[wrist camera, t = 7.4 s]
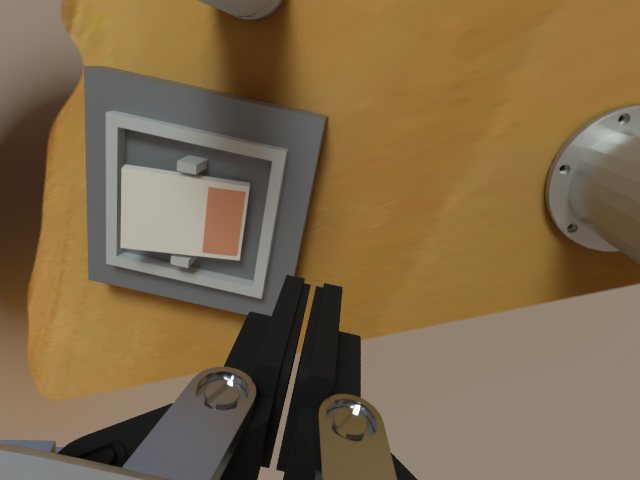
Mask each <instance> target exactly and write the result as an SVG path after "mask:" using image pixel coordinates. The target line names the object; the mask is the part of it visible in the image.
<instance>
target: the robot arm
mask: <svg viewBox="0 0 640 480" xmlns="http://www.w3.org/2000/svg"><path fill="white" fill-rule="evenodd" d="M620 116H621V119H620V120H619V117H620ZM618 120H619V121H618ZM562 165H563V168H562V169H561V170H560V167H561V166H562ZM545 198H546V204H547V209H548V212H549V214H550V217H551V219H552V221H553V222H554V223H555V225H556V226H557V228H558V229H559V230H560V231H561V232H562V233H563V234H565V235H566V236H567V237H568V238H570V239H571V240H572V241H574V242H575V243H577V244H579V245H581V246H584V247H586V248H588V249H593V250H597V251H605V252H619V251H621V252H622V253H624V254H625V255H626V256H628V257H629V258H631V259H632V260H634V261H635V262H637V263H638V264H639V265H640V104H637V105H631V106H625V107H620V108H617V109H614V110H611V111H608V112H606V113H604V114H602V115H600V116H598V117H596V118H594V119H592V120H590V121H589V122H588V123H586V124H585V125H584V126H582V127H581V128H580V129H578V130H577V131H576V132H575V133H574V134H573V135H572V136H571V137H570V138H569V139H568V140H567V141H566V142H565V143H564V145H563V146H562V148H561V149H560V151H559V152H558V153H557V155H556V157H555V159H554V161H553V163H552V165H551V167H550V170H549V173H548V177H547V181H546V190H545ZM569 225H570V226H569ZM568 226H569V227H568ZM304 280H305V279H304V278H300V277H295V276H291V275H286V278H285V281H284V283H283V286H282V289H281V291H280V294H279V297H278V300H277V302H276V305H275V308H274V310H273V313H272V316H269V315H265V314H260V313H256V312H251V311H250V312H249V314H248V316H247V318H246V320H245V322H244V324H243V326H242V329H241V331H240V333H239V335H238V337H237V339H236V341H235V343H234V346H233V348H232V350H231V352H230V354H229V356H228V358H227V361H226V363H225V365H224V367H215V368H210V369H207V370H205V371H203V372H201V373H199V374H198V375H197V376H196V377H194V378H193V379H192V381H191V382H190V383H189V384H188V386H187V387H186V388H185V389H184V391H183V392H182V394H180V396H179V397H178V398H177V399H176V401H175V402H174V403H172V404H169V405H166V406H164V407H161V408H158V409H156V410H153V411H150V412H147V413H145V414H142V415H139V416H137V417H134V418H131V419H129V420H126V421H124V422H121V423H118V424H115V425H113V426H110V427H107V428H105V429H102V430H99V431H96V432H94V433H91V434H88V435H86V436H83V437H81V438H79V439H77V440H75V441H73V442H71V443H69V444H68V445H67V446H65V447H56V443H55V441H28V440H0V480H257V478H258V474H259V470H260V467H261V466H262V467H266V468H269V466H270V462H271V458H272V453H273V449H274V445H275V440H276V436H277V432H278V428H279V423H280V419H281V415H282V410H283V406H284V401H285V397H286V393H287V389H288V384H289V380H290V376H291V372H292V367H293V363H294V359H295V354H296V349H297V345H298V340H299V336H300V331H301V327H302V322H303V318H304V313H305V309H306V304H307V299H308V295H309V290H310V286H311V285H309V284H304ZM341 299H342V287H340V286H335V285H331V284H326V283H324V287H323V288H322V287H318V286H316V290H315V295H314V299H313V304H312V308H311V312H310V317H309V321H308V326H307V330H306V334H305V339H304V343H303V348H302V352H301V357H300V361H299V365H298V371H297V375H296V379H295V384H294V389H293V393H292V398H291V403H290V407H289V412H288V417H287V421H286V426H285V431H284V435H283V440H282V445H281V449H280V454H279V459H278V464H277V468H276V469H277V470H279V471H284V472H285V473H284V477H283V480H417V479H416V478H415V477H414V476H413V475H412V474H411V473H410V472H409V471H408V470H407V468H405V467H404V465H402V463H401V462H400V461H399V460H398V459H397V458H396V457H395V456H394V455H393V454H392V453H391V452H390V448H389V444H388V439H387V436H386V431H385V427H384V423H383V420H382V418H381V416H380V414H379V412H378V411H377V410H376V409H375V407H374V406H372V405H371V404H370V403H368V402H367V401H366V400H364V399H362V398H360V396H361V391H360V390H361V388H360V387H361V384H360V383H361V381H360V380H361V372H360V371H361V359H360V358H361V339H360V336H358V335H353V334H349V333H344V332H340V331H339V322H340V311H341Z"/></svg>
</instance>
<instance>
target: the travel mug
mask: <svg viewBox="0 0 640 480" xmlns="http://www.w3.org/2000/svg"><path fill="white" fill-rule="evenodd" d="M199 1H201V2H203V3H206V4H208V5H210V6H212V7H215V8H217V9H219V10H221V11H224V12H226V13H228V14H231V15H233V16H235V17H237V18H240V19H243V20H249V21H255V20H261V19H263V18H266V17H268V16H270V15H271V14H273V13H274V12H275V11H276V10H277V9H278V8H279V7H280V5H281V4H282V2H283V1H284V0H199Z"/></svg>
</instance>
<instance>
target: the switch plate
mask: <svg viewBox="0 0 640 480" xmlns="http://www.w3.org/2000/svg"><path fill="white" fill-rule="evenodd" d="M84 88H85V135H86V181H87V227H88V274H89V280H93V281H97V282H102V283H106V284H110V285H115V286H119V287H124V288H128V289H133V290H137V291H141V292H146V293H150V294H155V295H159V296H164V297H168V298H173V299H177V300H181V301H186V302H190V303H195V304H199V305H204V306H208V307H212V308H217V309H221V310H226V311H230V312H235V313H239V314H244V315H248V314H249V312H250V311H251V312H256V313H260V314H265V315H269V316H272V313H273V310H274V308H275V305H276V302H277V300H278V297H279V294H280V291H281V289H282V286H283V283H284V281H285V278H286V275H291V276H295V277H296V272H297V267H298V262H299V257H300V252H301V247H302V242H303V237H304V232H305V227H306V222H307V217H308V212H309V207H310V202H311V198H312V193H313V188H314V183H315V178H316V173H317V168H318V163H319V158H320V153H321V148H322V143H323V138H324V133H325V128H326V123H327V118H328V116H327V115H323V114H318V113H314V112H309V111H305V110H300V109H296V108H291V107H286V106H282V105H277V104H273V103H268V102H264V101H259V100H255V99H250V98H246V97H241V96H237V95H232V94H228V93H223V92H219V91H214V90H209V89H205V88H200V87H196V86H191V85H187V84H182V83H178V82H173V81H169V80H164V79H160V78H155V77H151V76H146V75H141V74H137V73H132V72H128V71H123V70H119V69H114V68H110V67H105V66H84ZM125 164H127V165H134V166H141V167H148V168H154V169H161V170H168V171H175V172H181V173H188V174H194V175H202V176H208V177H215V178H222V179H228V180H235V181H242V182H249V183H250V189H249V196H248V203H247V211H246V218H245V225H244V232H243V239H242V247H241V254H240V261H238V260H229V259H219V258H210V257H201V256H191V255H182V254H173V253H163V252H154V251H145V250H135V249H126V248H120V246H121V168H122V167H123V166H124V165H125Z"/></svg>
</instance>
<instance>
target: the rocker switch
mask: <svg viewBox="0 0 640 480" xmlns="http://www.w3.org/2000/svg"><path fill="white" fill-rule="evenodd" d="M249 189H250V183H249V182H242V181H235V180H228V179H222V178H215V177H208V176H202V175H194V174H188V173H181V172H175V171H168V170H161V169H154V168H148V167H141V166H134V165H127V164H125V165H124V166H123V167H122V168H121V246H120V248H126V249H135V250H145V251H154V252H163V253H173V254H182V255H191V256H201V257H210V258H219V259H229V260H238V261H240V254H241V247H242V239H243V232H244V225H245V218H246V211H247V203H248V196H249Z"/></svg>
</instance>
